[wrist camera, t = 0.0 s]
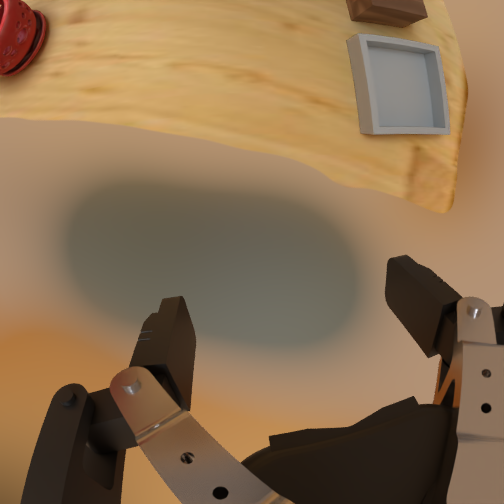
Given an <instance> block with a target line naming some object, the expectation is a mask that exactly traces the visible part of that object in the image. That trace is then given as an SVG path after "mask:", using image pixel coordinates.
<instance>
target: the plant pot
mask: <svg viewBox="0 0 504 504" xmlns="http://www.w3.org/2000/svg"><path fill="white" fill-rule="evenodd" d="M0 5H2V6H1V7H0V75H2V76H12V75H15V74H17V73H19V72H20V71H21V70H23V69H24V68H25V67H26V66H27V65H28V64H29V63H30V62H31V61H32V60H33V58H34V57H35V55H36V54H37V52H38V51H39V49H40V47H41V45H42V43H43V40H44V37H45V32H46V21H45V17H44V15H43V14H42V13H41V12H40V11H37V10H31V8H30V7H29V6H28V5H27V4H26V3H25V2H23V1H21V0H0Z"/></svg>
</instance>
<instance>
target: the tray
mask: <svg viewBox="0 0 504 504" xmlns="http://www.w3.org/2000/svg"><path fill="white" fill-rule="evenodd" d="M346 41H347V46H348V51H349V56H350V62H351V67H352V73H353V79H354V86H355V92H356V99H357V107H358V115H359V124H360V133H362V134H373V135H375V134H442V135H450V122H449V110H448V101H447V93H446V85H445V78H444V72H443V66H442V61H441V56H440V51H439V46H434V45H430V44H426V43H421V42H416V41H411V40H406V39H400V38H394V37H387V36H380V35H371V34H362V33H357V34H356V35H354V36H353V37H351V38H349V39H348V40H346Z"/></svg>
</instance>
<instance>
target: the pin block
mask: <svg viewBox="0 0 504 504" xmlns="http://www.w3.org/2000/svg"><path fill="white" fill-rule="evenodd" d="M346 2H347V6H348V10H349V14H350V18H351V21H361V22H370V23H377V24H384V25H390V26H396V27H401V28H403V27H405V26H407V25H410V24H412V23H415V22H417V21H419V20H422V19H425V18H427V17H428V16H427V12H426V9H425V6H424V2H423V0H346Z"/></svg>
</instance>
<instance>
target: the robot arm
mask: <svg viewBox="0 0 504 504" xmlns="http://www.w3.org/2000/svg"><path fill="white" fill-rule="evenodd" d="M385 297H386V302H387V304H388V306H389V308H390V309H391V310H392V311H393V313H394V314H395V315H396V316H397V318H398V319H399V320H400V322H401V323H402V324H403V325H404V327H405V328H406V329H407V331H408V332H409V333H410V335H411V336H412V337H413V339H414V340H415V341H416V342H417V344H418V345H419V346H420V348H421V349H422V351H423V352H424V353H425V355H426V356H427V357H428V358H430V357H432V356H435V355H437V354H440V355H441V358H440V361H439V367H438V375H437V383H436V389H435V395H434V400H433V404H420V405H419V404H418V402H417V401H416V399H415V397H414V396H412V397H410V398H407V399H405V400H402V401H399V402H397V403H394V404H392V405H389V406H386V407H383V408H381V409H380V410H378V411H376V412H375V413H373V414H372V415H370V416H368V417H366V418H365V419H363V420H361V421H359V422H358V423H356V424H354V425H352V426H349V427H343V428H320V429H305V430H300V431H295V432H290V433H284V434H278V435H272V436H269V441H270V446H268V447H266V448H264V449H261V450H260V451H257V452H255V453H254V454H252V455H250V456H249V457H247V458H246V459H245V460H243V461H242V462H241V463H240V462H239V461H237V460H236V459H235V458H234V457H233V456H232V455H231V454H230V453H228V451H226V450H225V449H224V448H223V447H222V446H221V445H220V444H219V443H218V442H217V441H216V440H215V439H214V438H213V437H212V436H211V435H210V434H209V433H208V432H207V431H206V430H205V429H204V428H203V427H202V426H201V425H200V424H199V423H198V422H197V421H196V420H195V419H194V418H193V417H192V416H191V414H190V413H189V412H188V411H190V406H191V394H192V382H193V370H194V360H195V349H196V336H195V331H194V327H193V324H192V321H191V318H190V315H189V312H188V309H187V306H186V303H185V300H184V298H183V296H178V297H171V298H164V299H162V302H161V305H160V308H159V311H158V313H152V314H151V315H150V316H149V317H148V318H147V319H146V321H145V322H144V324H143V326H142V329H141V334H140V335H139V338H138V341H137V344H136V347H135V350H134V353H133V356H132V359H131V362H130V365H129V368H127V369H124V370H122V371H121V372H119V373H118V374H117V375H116V376H115V377H114V378H113V379H112V381H111V384H110V387H109V388H106V389H103V390H100V391H96V392H92V393H88V392H87V391H86V389H85V388H84V387H83V386H82V385H80V384H75V383H73V384H68V385H66V386H64V387H62V388H61V389H59V390H58V391H57V392H56V394H55V395H54V396H53V398H52V401H51V404H50V406H49V409H48V411H47V414H46V417H45V420H44V423H43V425H42V428H41V431H40V434H39V437H38V440H37V443H36V446H35V450H34V453H33V456H32V459H31V463H30V467H29V470H28V474H27V478H26V482H25V486H24V490H23V495H22V499H21V504H121V492H122V481H123V471H124V462H125V454H126V449H128V448H132V447H136V446H140V448H141V449H142V451H143V452H144V454H145V455H146V457H147V458H148V460H149V461H150V462H151V464H152V465H153V467H154V468H155V470H156V471H157V472H158V474H159V475H160V476H161V478H162V479H163V480H164V482H165V483H166V484H167V486H168V487H169V488H170V489H171V491H172V492H173V493H174V494H175V496H176V497H177V498H178V499H179V500H180V502H181V503H182V504H504V304H503V306H501V307H492V308H491V307H490V306H489V305H488V304H487V303H486V302H485V301H484V300H482V299H479V298H476V297H465V298H462V296H460V295H459V294H458V293H457V292H456V291H455V290H454V289H453V288H451V287H450V286H449V285H448V284H447V283H446V282H443V280H442V279H441V278H440V277H437V275H436V274H435V273H434V272H433V271H432V270H431V269H429V268H426V267H425V266H422V265H420V264H417V263H416V262H415V261H414V260H413V259H411V258H410V257H409V256H407V255H402V256H398V257H393V258H390V259H389V260H388V263H387V275H386V287H385Z"/></svg>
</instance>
